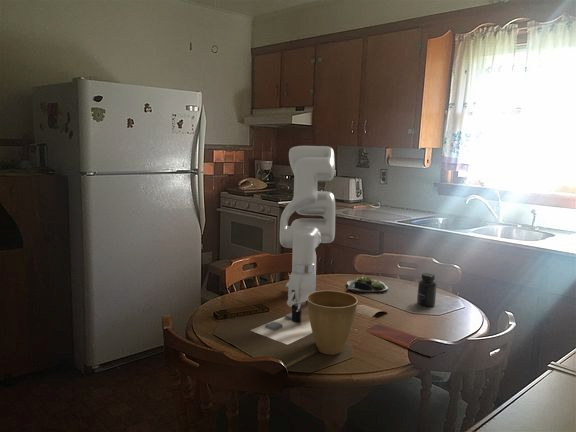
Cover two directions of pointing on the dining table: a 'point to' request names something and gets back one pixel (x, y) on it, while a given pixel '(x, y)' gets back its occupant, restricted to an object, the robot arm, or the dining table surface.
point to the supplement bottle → (427, 290)
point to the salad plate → (367, 286)
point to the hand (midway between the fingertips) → (302, 318)
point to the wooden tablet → (391, 335)
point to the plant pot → (331, 319)
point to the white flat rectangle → (285, 331)
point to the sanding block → (303, 314)
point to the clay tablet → (367, 310)
